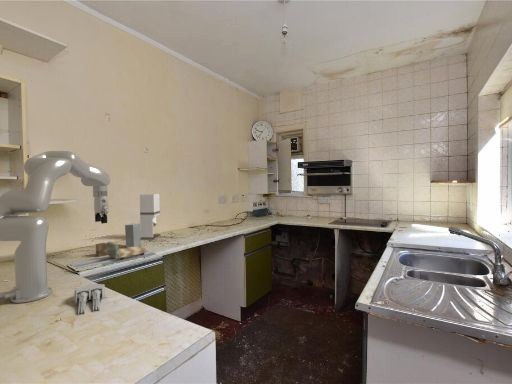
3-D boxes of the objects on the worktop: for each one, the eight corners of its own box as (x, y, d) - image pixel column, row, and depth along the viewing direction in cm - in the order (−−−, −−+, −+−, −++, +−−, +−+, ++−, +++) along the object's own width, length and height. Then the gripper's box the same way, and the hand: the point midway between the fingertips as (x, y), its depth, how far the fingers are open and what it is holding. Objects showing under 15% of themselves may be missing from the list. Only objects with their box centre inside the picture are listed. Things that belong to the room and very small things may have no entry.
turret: (71, 323, 89) (70, 310, 88) (76, 293, 105) (75, 282, 105) (105, 315, 94) (105, 303, 93) (104, 288, 110) (104, 277, 110)
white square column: (154, 240, 203) (153, 194, 202) (140, 239, 203) (139, 194, 202) (160, 236, 215) (159, 193, 213) (147, 236, 215) (146, 193, 213)
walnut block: (99, 256, 158) (98, 245, 158) (96, 255, 162) (95, 244, 161) (108, 255, 162) (107, 243, 162) (104, 253, 166) (104, 242, 165)
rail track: (76, 272, 131) (76, 269, 131) (67, 265, 142) (66, 263, 142) (156, 254, 163) (156, 252, 163) (143, 250, 174) (143, 248, 174)
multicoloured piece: (116, 261, 147) (115, 245, 147) (107, 257, 155) (107, 242, 155) (146, 254, 161) (146, 239, 160) (137, 251, 168) (136, 237, 168)
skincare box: (134, 248, 178) (133, 225, 177) (124, 248, 179) (124, 224, 179) (141, 245, 186) (141, 223, 185) (132, 245, 187) (132, 222, 187)
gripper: (112, 194, 158) (113, 223, 159) (101, 193, 169) (102, 220, 170) (98, 195, 152) (99, 224, 153) (88, 194, 163) (89, 221, 164)
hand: (101, 222), depth 161 cm, fingers open, 9 cm apart
